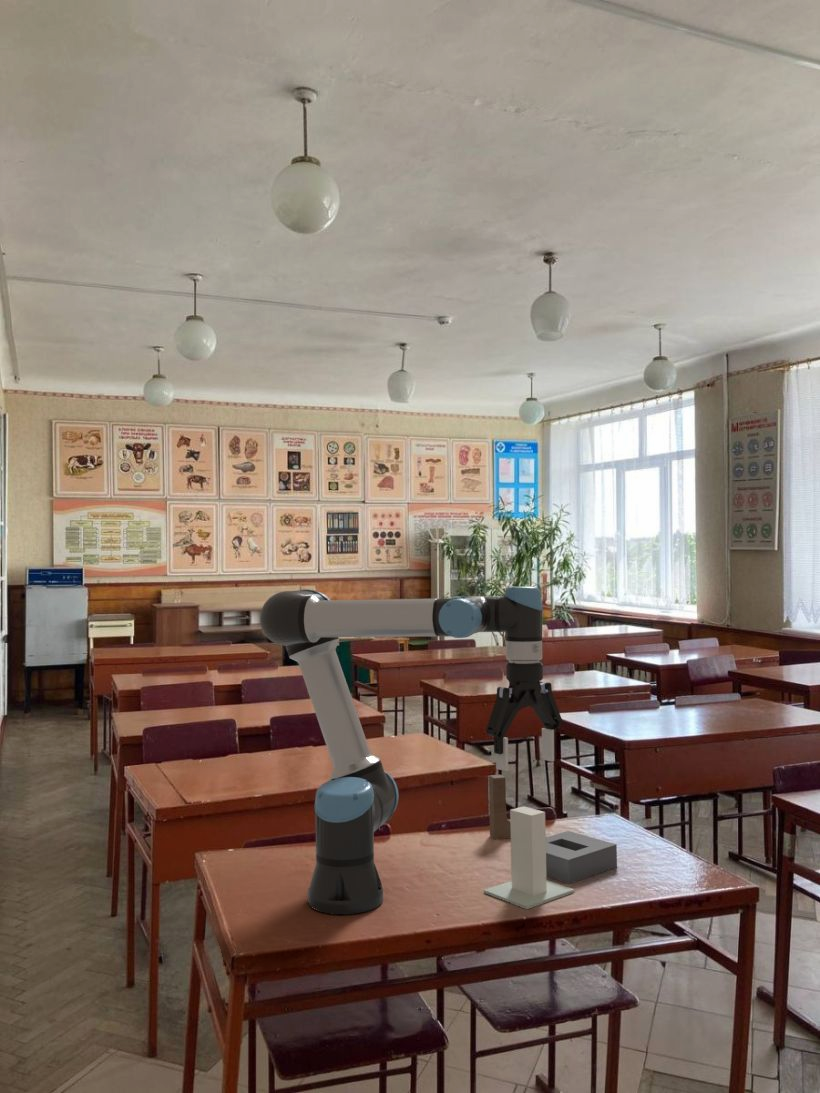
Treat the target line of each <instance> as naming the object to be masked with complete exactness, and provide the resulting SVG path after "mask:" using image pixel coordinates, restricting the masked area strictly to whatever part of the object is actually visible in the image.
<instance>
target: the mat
mask: <svg viewBox="0 0 820 1093" xmlns="http://www.w3.org/2000/svg"><path fill="white" fill-rule="evenodd" d="M546 881H547V891H546V892H543V893H540V894H538V895H535V896H532V895H529V894H526V893H524V892H521V891H518V890H515V889H513V888H512V880H510V881H507V882H504V883H502V884H497V885H495V886H492V887H489V888H485V889H484V890H483V893H484V894H486V895H488V896H491V897H494V898H496V899H499V900H501V899H502V900H501V901H504V900H505V901H504V902H506V901H507V903H509V902H510V904H512V905H515V906H517V907H519V906H520V908H523V909H525V910H530V909H531V908H534V906H535V907H538V906H540V905H543V904H546V903H549V902H551V901H553V900H557V899H560V898H562V897H565V896H567V895H570V894H573V893H575V889H574V888H571V887H570V886H569V887H568V886H566V885H563V884H561V883H557V882H554V881H550V880H548V879H546Z"/></svg>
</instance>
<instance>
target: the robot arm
mask: <svg viewBox="0 0 820 1093" xmlns="http://www.w3.org/2000/svg"><path fill="white" fill-rule="evenodd" d="M504 591H505V592H504V594H503V595H498V596H495V595H494V596H489V595H460V596H458V595H457V596H452V597H446V598H445V597H444V598H443V597H442V598H396V599H395V598H391V599H385V598H384V599H336V600H331V598H329V596H327V595H325V594H324V593H323V592H320V591H316V590H314V589H306V588H305V589H298V590H285V591H280V592H276V593H275V594H273V595H272V596H270V597H269V598H268V599H267V600H266V601H265V602H264V604H263V605H262V607H261V610H260V615H259V623H260V628H261V630H262V632H263V634H264V635H265V637H267V639H268V640H269V641H271V642H272V643H274V644H276V645H279V646H285V650H286V652H287V654H288V658H289V659H291V660H293V661H295V662H297V664H298V666H299V668H300V671H301V674H302V677H303V681H304V683H305V686H306V688H307V692H308V695H309V698H310V700H311V704H312V707H313V709H314V712H315V716H316V719H317V722H318V724H319V728H320V731H321V734H322V736H323V740H324V743H325V745H326V748H327V752H328V754H329V757H330V760H331V763H332V766H333V769H332V771H331V774H330V776H329V779H330V780H327V781H326V782H323V783H322V784H321V785H320V786H318V788H317V789H316V792H315V800H314V812H315V813H314V816H315V817H314V818H315V820H314V822H315V866H314V869H313V872H312V876H311V880H310V883H309V887H308V890H307V904H308V903H309V905H310V906H311V907H313V908H315V909H317V910H319V911H322V912H326V913H325V914H327V913H333V914H332V915H337V914H345V915H355V913H356V914H361V913H366V912H368V911H371V910H374V909H376V908H378V907H379V906H381V905H382V904H383V902H384V887H383V884H382V881H381V878H380V875H379V872H378V869H377V867H376V863H375V851H374V850H375V848H374V847H375V846H374V844H375V843H374V842H375V840H374V836H375V835H374V833H375V832H376V831H377V830H378V829H379V828H380V827H382V826H383V825H385V824H386V823H387V822H389V820H390V819H391V818H392V816H393V814H394V813H395V811H396V809H397V807H398V803H399V797H400V796H399V789H398V786H397V783H396V781H395V779H394V778H393V777H392V775H390V774H389V773H388V772H386V771H385V769H384V766H383V764H382V763H383V762H382V760H381V758H380V757H378V756H376V755H374V754H373V753H371V750H370V747H369V745H368V741H367V738H366V735H365V733H364V730H363V727H362V723H361V721H360V718H359V715H358V712H357V709H356V706H355V703H354V699H353V698H352V695H351V692H350V689H349V685H348V683H347V681H346V677H345V674H344V671H343V669H342V666H341V663H340V660H339V656H338V654H337V651H336V650H337V647H338V644H339V642H340V639H339V638H381V637H382V638H384V637H385V638H386V637H387V638H391V637H392V638H396V637H400V638H401V637H410V638H411V637H452V638H455V639H463V638H464V639H465V638H468V637H471V636H472V635H474V634H477V633H505V659H506V660H508V662H506V664H505V671H506V672H505V673H506V677H505V678H506V680H507V681H508V683H509V684H508V687H505V686H498V687H497V688H496V698H495V702H494V705H493V707H492V711H491V714H490V717H489V719H488V722H487V726H486V728H485V729H486V730H485V734H486V735H489V736H490V737H493V753H494V754H495V769H496V770H500V771H504V772H507V771H509V737H506V735H507V733H508V731H509V729H510V727H511V725H512V723H513V721H514V719H515V717H516V716H517V714H518V712H520V711H521V710H522V709H523V708H527V707H531V708H532V710H533V711H534V713H535V714H536V715H537V717H538V718H539V720H540V721H541V723H542V725H543V726H544V727H542V728H541V760H544V761H548V762H555V743H556V730H559V729H560V727H561V726H562V724H563V719H562V716H561V713H560V710H559V707H558V705H557V703H556V700H555V697H554V694H553V688H552V687H553V686H552V683H551V682H548V681H543V679H544V664H543V663H542V662H541V660H543V611H544V610H543V606H542V604H543V603H542V602H543V601H542V591H541V590H540V588H539V587H538V586H508V587H506V588H505V590H504ZM309 905H308V906H309ZM310 906H309V907H310ZM311 907H310V908H311ZM319 911H318V912H319ZM322 912H321V913H322Z"/></svg>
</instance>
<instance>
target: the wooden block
mask: <svg viewBox="0 0 820 1093" xmlns="http://www.w3.org/2000/svg"><path fill="white" fill-rule="evenodd" d="M506 784H507V783H506V777H505V776H504V775H502V774H493V775H491V774H490V775H488V799H489V800H488V803H489V809H488V810H489V837H490V838H492V839H494V840H503V839H511V826H510V818H508V817H507V796H506V794H507V793H506V792H507V789H506V788H507V786H506Z"/></svg>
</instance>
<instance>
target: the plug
mask: <svg viewBox="0 0 820 1093" xmlns="http://www.w3.org/2000/svg"><path fill="white" fill-rule="evenodd" d="M509 814H510V815H509V817H510V818H509V819H510V826H511V838H510V866H511V867H510V870H511V873H510V874H511V876H510V877H511V881H512V888H513V889H515V890H518V891H521V892H524V893H526V894H529V895H532V896H535V895H538V894H540V893H543V892H546V891H547V881H546V880H547V876H546V837H547V836H546V833H547V832H546V812H545V811H542V810H538V809H535V808H532V807H527V806H520V807H515V808H511V809H510V810H509Z"/></svg>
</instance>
